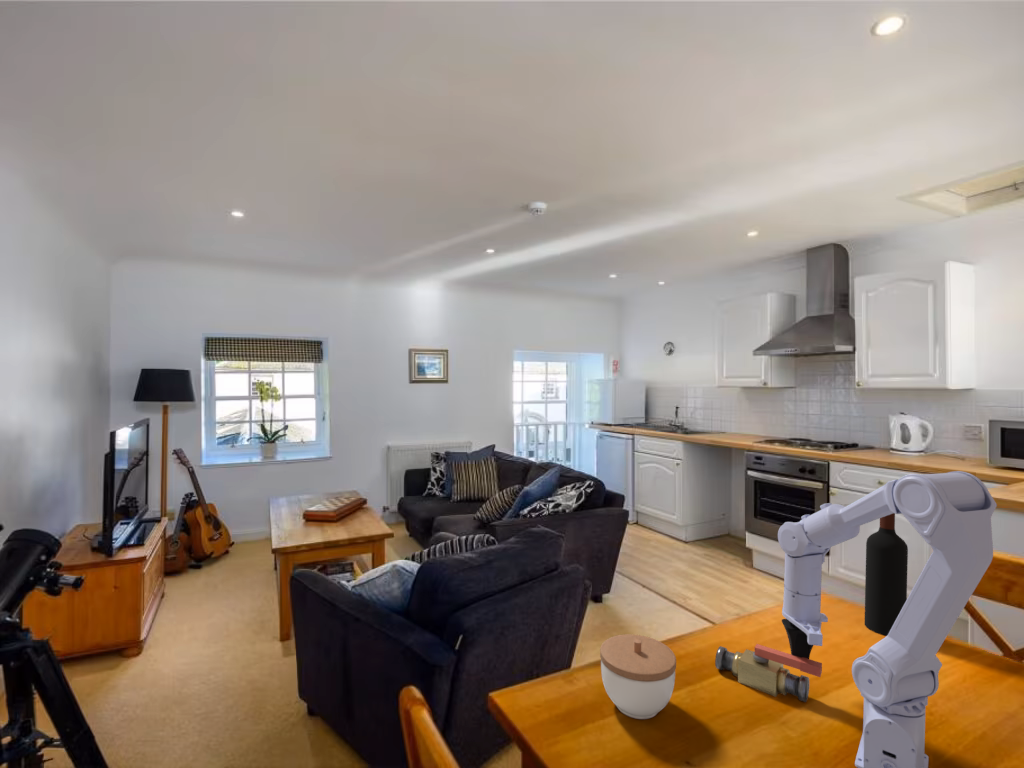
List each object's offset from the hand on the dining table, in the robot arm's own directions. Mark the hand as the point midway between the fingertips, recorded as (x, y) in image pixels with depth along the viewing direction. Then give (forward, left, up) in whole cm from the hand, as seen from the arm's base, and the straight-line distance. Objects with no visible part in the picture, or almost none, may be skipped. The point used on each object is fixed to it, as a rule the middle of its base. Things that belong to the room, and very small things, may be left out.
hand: (800, 663), depth 90 cm
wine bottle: (+39, -9, -5) cm, 40 cm away
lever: (-2, +2, -1) cm, 3 cm away
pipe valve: (-2, +6, -5) cm, 8 cm away
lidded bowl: (-23, +20, -5) cm, 31 cm away
